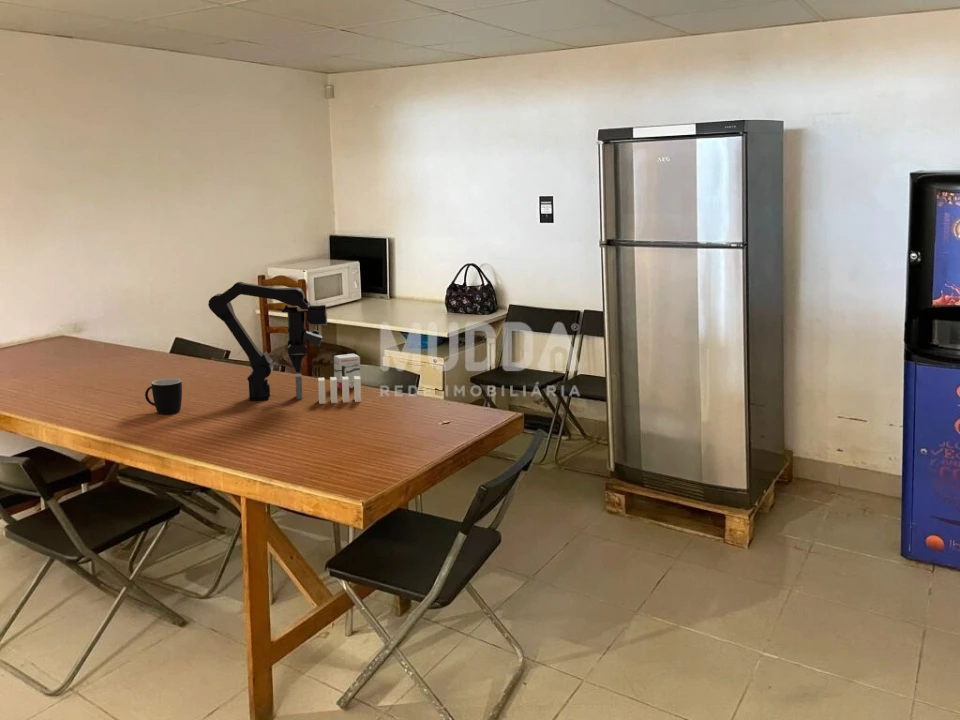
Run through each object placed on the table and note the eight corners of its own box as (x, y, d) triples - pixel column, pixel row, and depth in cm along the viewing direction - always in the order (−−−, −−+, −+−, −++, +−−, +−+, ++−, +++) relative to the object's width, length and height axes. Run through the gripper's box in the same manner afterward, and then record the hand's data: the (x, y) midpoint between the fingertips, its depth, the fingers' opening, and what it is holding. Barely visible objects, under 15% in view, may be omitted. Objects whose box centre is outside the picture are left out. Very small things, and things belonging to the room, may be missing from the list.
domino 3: (331, 403, 263) (330, 380, 262) (330, 399, 268) (330, 377, 266) (337, 402, 264) (336, 379, 262) (336, 399, 268) (336, 377, 266)
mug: (188, 409, 254) (186, 379, 252) (175, 416, 245) (172, 385, 243) (154, 407, 255) (151, 377, 253) (139, 415, 247) (136, 384, 244)
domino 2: (319, 403, 262) (318, 380, 261) (318, 400, 267) (318, 377, 265) (325, 403, 263) (324, 380, 261) (324, 400, 267) (324, 377, 265)
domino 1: (296, 399, 268) (295, 376, 266) (296, 396, 272) (295, 373, 270) (302, 399, 268) (301, 376, 267) (302, 395, 272) (301, 373, 271)
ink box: (339, 389, 282) (338, 357, 279) (334, 387, 286) (333, 355, 283) (361, 386, 286) (360, 355, 284) (355, 384, 290) (354, 353, 288)
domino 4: (343, 402, 264) (342, 379, 263) (342, 399, 268) (341, 376, 267) (349, 402, 265) (348, 379, 263) (348, 399, 269) (347, 376, 267)
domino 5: (355, 401, 265) (354, 379, 264) (354, 398, 269) (353, 376, 268) (361, 401, 266) (360, 378, 264) (360, 398, 270) (359, 376, 268)
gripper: (321, 328, 258) (322, 374, 261) (319, 320, 276) (320, 363, 279) (287, 329, 255) (288, 375, 258) (287, 320, 273) (288, 364, 276)
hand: (297, 369), depth 268 cm, fingers open, 9 cm apart
